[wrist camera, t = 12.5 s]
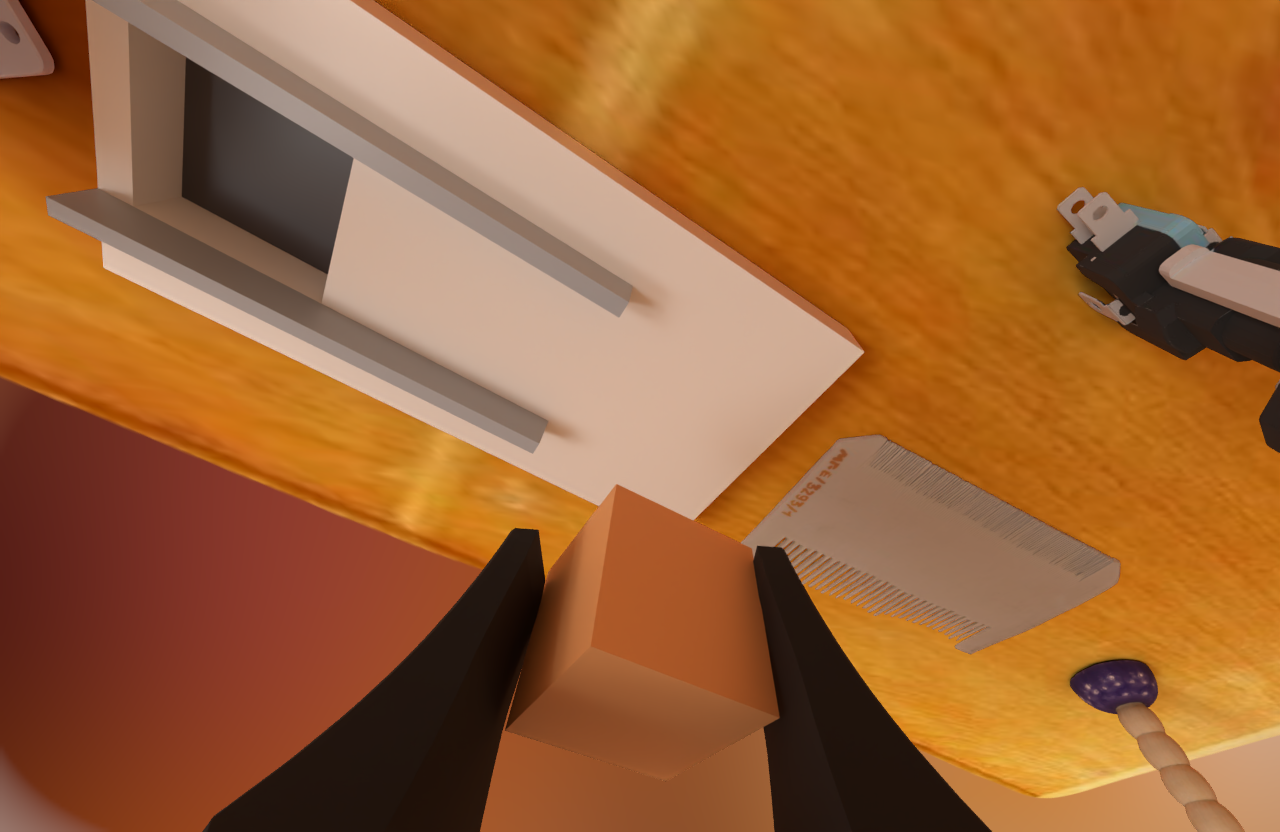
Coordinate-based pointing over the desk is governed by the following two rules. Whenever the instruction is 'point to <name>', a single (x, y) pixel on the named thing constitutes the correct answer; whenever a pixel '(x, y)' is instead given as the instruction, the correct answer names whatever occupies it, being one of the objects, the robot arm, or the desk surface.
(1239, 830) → the toy lamp
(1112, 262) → the push button
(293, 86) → the trough
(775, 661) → the robot arm
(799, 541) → the grooming comb
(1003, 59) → the desk surface
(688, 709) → the block
